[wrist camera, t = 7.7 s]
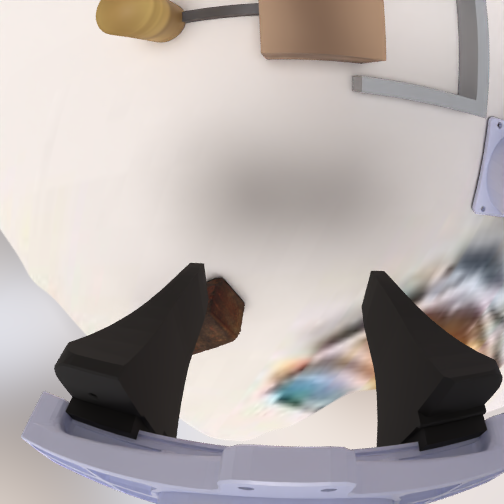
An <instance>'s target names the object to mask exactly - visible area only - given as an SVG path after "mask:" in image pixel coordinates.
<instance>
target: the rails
mask: <svg viewBox="0 0 504 504" xmlns="http://www.w3.org/2000/svg"><path fill="white" fill-rule="evenodd" d="M457 10H458V24H459V87H458V95H456V94H452V93H448V92H444V91H440V90H436V89H432V88H428V87H423V86H419V85H414V84H409V83H404V82H398V81H393V80H387V79H380V78H373V77H366V76H353V85H352V91H357V92H361V93H369V94H377V95H384V96H390V97H396V98H402V99H408V100H413V101H419V102H424V103H428V104H433V105H437V106H442V107H446V108H450V109H454V110H458V111H462V112H466V113H469V114H473V115H476V116H480V117H483V118H486V114H487V103H488V89H489V30H488V16H487V6H486V0H457Z"/></svg>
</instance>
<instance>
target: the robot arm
mask: <svg viewBox="0 0 504 504" xmlns="http://www.w3.org/2000/svg"><path fill="white" fill-rule="evenodd" d="M498 123H499V127H498V126H497V124H498ZM482 206H483V208H482ZM481 208H482V209H481ZM472 209H473V211H474V212H475V213H476V214H483V215H491V216H499V217H504V120H502V119H499V118H496V117H490V118H489V121H488V128H487V136H486V143H485V149H484V155H483V161H482V166H481V171H480V176H479V181H478V185H477V190H476V194H475V198H474V202H473V206H472ZM208 300H209V299H208V292H207V284H206V276H205V269H204V264H202V263H190V264H189V265H188V266H187V267H185V268H184V269H183V270H182V271H181V272H180V273H179V274H178V275H177V276H176V277H175V278H174V279H173V280H172V281H171V282H170V283H168V284H167V285H166V286H165V287H164V288H163V289H162V290H161V291H160V292H158V293H157V294H156V295H155V296H154V297H152V298H151V299H150V300H149V301H148V302H146V303H145V304H144V305H142V306H141V307H140V308H138V309H137V310H135V311H134V312H132V313H131V314H129V315H128V316H126V317H124V318H122V319H121V320H119V321H117V322H116V323H114V324H112V325H110V326H108V327H106V328H104V329H102V330H100V331H98V332H95V333H93V334H91V335H88V336H86V337H83V338H80V339H78V340H75V341H72V342H69V343H68V345H67V346H66V348H65V349H64V351H63V353H62V354H61V356H60V358H59V359H58V361H57V363H56V365H55V368H54V369H55V373H56V375H57V377H58V379H59V380H60V381H61V383H62V384H63V386H64V387H65V388H66V389H67V391H68V392H69V393H70V394H71V395H72V399H71V401H70V403H69V402H68V401H66V400H65V399H63V398H61V397H58V396H56V395H53V394H51V393H48V392H46V391H44V392H43V393H42V395H41V397H40V399H39V401H38V403H37V405H36V406H35V409H34V411H33V413H32V414H31V416H30V419H29V421H28V423H27V425H26V427H25V429H24V431H23V433H22V435H21V437H22V439H23V440H25V441H26V442H27V443H28V444H30V445H31V446H32V447H33V448H35V449H36V450H37V451H39V452H40V453H42V454H43V455H44V456H46V457H47V458H48V459H50V460H51V461H53V462H54V463H56V464H59V465H60V466H63V467H65V468H67V469H69V470H71V471H73V472H75V473H77V474H80V475H82V476H84V477H86V478H88V479H91V480H93V481H95V482H98V483H100V484H102V485H105V486H107V487H110V488H112V489H115V490H118V491H120V492H123V493H126V494H128V495H131V496H134V497H137V498H140V499H143V500H147V501H149V502H153V503H156V504H428V503H431V502H434V501H437V500H440V499H444V498H446V497H449V496H452V495H455V494H458V493H461V492H464V491H466V490H469V489H471V488H474V487H477V486H479V485H482V484H484V483H487V482H489V481H490V480H492V479H494V478H496V477H497V476H499V475H500V474H502V473H504V413H502V414H499V415H495V416H492V417H490V418H488V419H486V420H484V417H483V414H485V413H486V408H485V405H484V404H485V403H486V402H487V401H488V400H489V399H490V398H491V397H492V396H493V394H494V393H495V392H496V391H497V390H498V388H499V387H500V385H501V382H502V375H501V372H500V370H499V368H498V365H497V363H496V361H495V360H494V359H492V358H490V357H488V356H485V355H483V354H481V353H479V352H477V351H475V350H474V349H472V348H470V347H468V346H467V345H465V344H463V343H462V342H460V341H459V340H457V339H456V338H454V337H453V336H452V335H450V334H449V333H447V332H446V331H445V330H443V329H442V328H441V327H440V326H438V325H437V324H436V323H435V322H434V321H432V320H431V319H430V318H429V317H428V316H427V315H426V314H425V313H424V312H423V311H422V310H420V309H419V308H418V307H417V306H416V305H415V304H414V303H413V302H412V300H411V299H410V298H409V297H408V296H407V295H406V294H405V293H404V292H403V291H402V290H401V289H400V288H399V287H398V285H397V284H396V283H395V282H394V281H393V280H392V279H391V278H390V277H389V276H388V275H387V274H386V273H385V272H384V271H371V273H370V277H369V281H368V285H367V289H366V293H365V296H364V300H363V304H362V313H363V322H364V328H365V332H366V336H367V341H368V345H369V349H370V353H371V357H372V362H373V366H374V372H375V380H376V391H377V414H378V427H377V431H378V432H377V447H375V448H365V449H352V450H350V449H348V448H345V447H331V446H326V447H291V446H290V447H289V446H267V445H234V446H230V447H229V446H221V445H214V444H207V443H200V442H194V441H188V440H182V439H177V438H176V436H177V428H178V420H179V414H180V407H181V401H182V396H183V391H184V385H185V380H186V376H187V371H188V367H189V363H190V360H191V357H192V354H193V351H194V348H195V345H196V342H197V340H198V337H199V334H200V331H201V328H202V325H203V322H204V319H205V315H206V310H207V305H208Z"/></svg>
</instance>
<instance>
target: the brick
mask: <svg viewBox="0 0 504 504" xmlns="http://www.w3.org/2000/svg"><path fill="white" fill-rule="evenodd" d="M206 284H207V292H208V299H209V300H208V305H207V310H206V315H205V319H204V322H203V325H202V328H201V331H200V334H199V337H198V340H197V342H196V345H195V348H194V351H193V354H197V353H200V352H203V351H205V350H209V349H213V348H216V347H219V346H221V345H224V344H227V343H230V342H232V341H234V340H235V339H236V338H237V337H238V335H239V334H240V333H239V332H241V324H242V317H243V312H244V306H245V304H244V302H243V301H242V300H241V299H240V298H239V296H238V295H237V294H236V293H235V292H234V291H233V290H232V288H231V287H230V286H229V285H228V284H227V283H226V282H225V280H224V279H223V278H216V279H213V280H211V281H208V282H207V283H206ZM193 354H192V355H193Z"/></svg>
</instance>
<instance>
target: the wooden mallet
mask: <svg viewBox="0 0 504 504" xmlns="http://www.w3.org/2000/svg"><path fill="white" fill-rule="evenodd" d="M258 1H259V3H255V4H239V5H228V6H219V7H211V8H203V9H196V10H190V11H183V9H182V8H181V7H179V6H178V5H176V4H174V3H173V2H171V1H169V0H101V1H100V3H99V5H98V7H97V11H96V21H97V24H98V26H99V28H100V29H101V30H102V31H103V32H105V33H107V34H110V35H117V36H124V37H131V38H137V39H143V40H149V41H154V42H167V41H170V40H172V39H174V38H175V37H177V36H178V35H179V34H180V33H181V31H182V30H183V28H184V26H185V23H188V22H194V21H201V20H208V19H216V18H226V17H237V16H252V15H259V19H260V39H261V54H262V55H263V56H264V57H265V58H266V59H306V60H327V61H341V62H352V63H361V64H362V63H369V62H378V61H386V35H385V16H384V2H383V0H258Z"/></svg>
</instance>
